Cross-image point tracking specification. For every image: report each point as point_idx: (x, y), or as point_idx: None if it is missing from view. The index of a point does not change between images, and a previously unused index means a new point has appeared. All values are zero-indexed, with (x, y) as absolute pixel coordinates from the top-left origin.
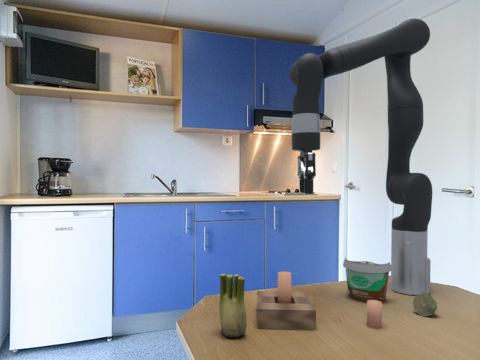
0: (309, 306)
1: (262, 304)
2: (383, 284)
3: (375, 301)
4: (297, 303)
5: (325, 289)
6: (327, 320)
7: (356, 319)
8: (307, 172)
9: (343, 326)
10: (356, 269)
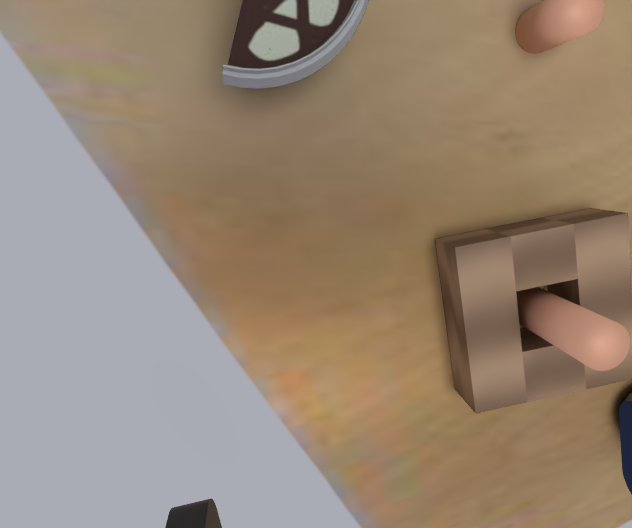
0: (597, 233)
1: (599, 373)
2: None
3: (573, 3)
4: (575, 272)
5: (201, 173)
6: (520, 173)
7: (497, 81)
8: None
9: (556, 128)
10: (354, 28)
